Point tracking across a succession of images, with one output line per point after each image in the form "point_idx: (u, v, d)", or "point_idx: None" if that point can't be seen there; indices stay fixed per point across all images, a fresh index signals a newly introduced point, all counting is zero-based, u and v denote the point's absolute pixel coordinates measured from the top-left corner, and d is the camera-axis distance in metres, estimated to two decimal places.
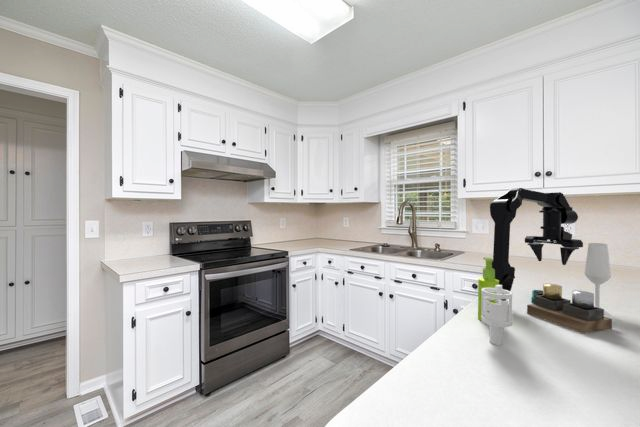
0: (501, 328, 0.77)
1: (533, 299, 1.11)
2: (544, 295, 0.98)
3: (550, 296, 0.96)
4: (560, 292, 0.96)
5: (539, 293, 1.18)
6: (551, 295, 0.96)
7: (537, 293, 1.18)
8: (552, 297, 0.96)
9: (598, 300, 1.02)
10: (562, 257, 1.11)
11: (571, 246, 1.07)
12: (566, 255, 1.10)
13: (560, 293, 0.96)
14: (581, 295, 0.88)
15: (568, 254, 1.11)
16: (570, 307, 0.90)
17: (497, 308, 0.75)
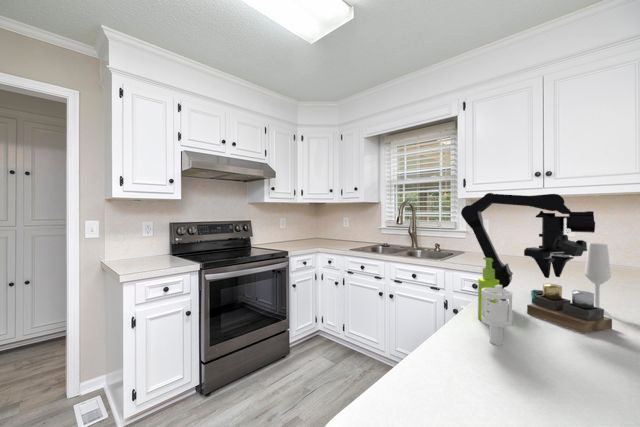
0: (501, 328, 0.77)
1: (533, 299, 1.11)
2: (544, 295, 0.98)
3: (550, 296, 0.96)
4: (560, 292, 0.96)
5: (538, 293, 1.18)
6: (551, 295, 0.96)
7: (536, 293, 1.18)
8: (552, 297, 0.96)
9: (598, 300, 1.02)
10: None
11: (524, 254, 0.98)
12: (542, 266, 0.98)
13: (560, 293, 0.96)
14: (581, 295, 0.88)
15: (545, 265, 0.97)
16: (570, 307, 0.90)
17: (497, 308, 0.75)
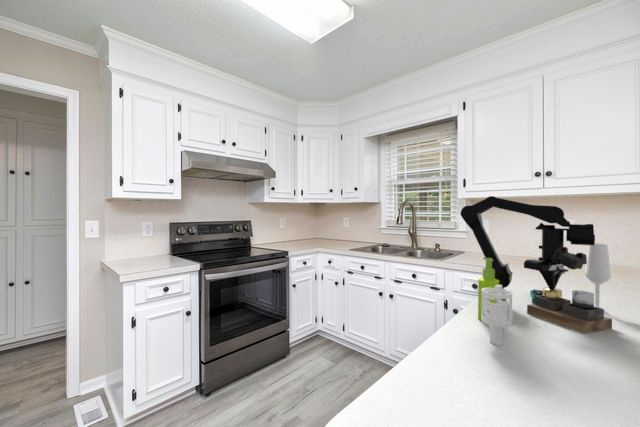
0: (501, 328, 0.77)
1: (534, 299, 1.11)
2: None
3: None
4: (560, 296, 0.96)
5: (538, 293, 1.18)
6: (551, 299, 0.96)
7: (536, 293, 1.18)
8: None
9: (598, 300, 1.02)
10: None
11: None
12: (547, 277, 0.98)
13: (560, 297, 0.96)
14: (581, 295, 0.88)
15: (550, 277, 0.97)
16: (570, 307, 0.90)
17: (497, 308, 0.75)
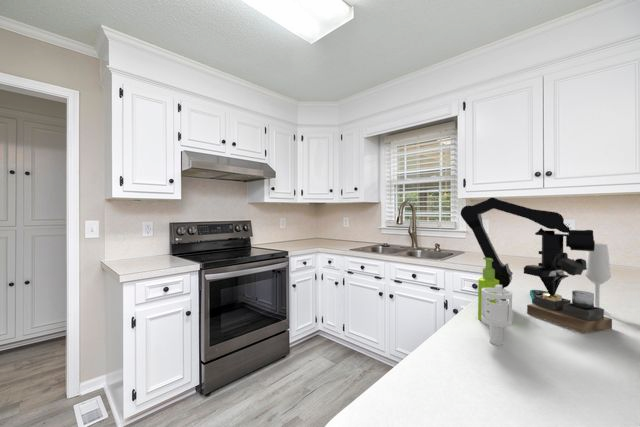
0: (501, 328, 0.77)
1: (534, 299, 1.11)
2: None
3: None
4: None
5: (538, 293, 1.18)
6: None
7: (536, 293, 1.18)
8: None
9: (598, 300, 1.02)
10: None
11: None
12: (547, 283, 0.98)
13: None
14: (581, 295, 0.88)
15: (550, 283, 0.97)
16: (570, 307, 0.90)
17: (497, 308, 0.75)
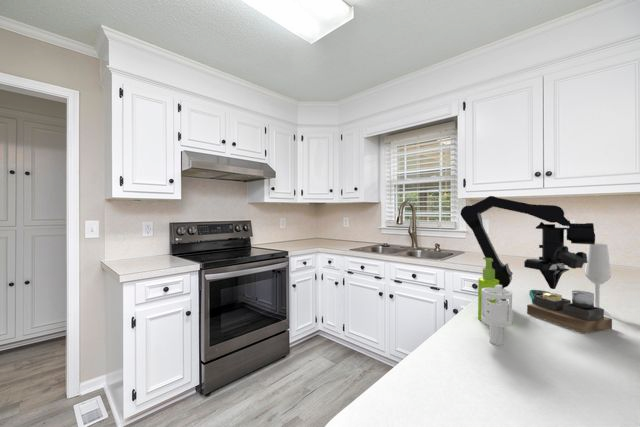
0: (501, 328, 0.77)
1: (534, 299, 1.11)
2: None
3: None
4: None
5: (537, 293, 1.18)
6: None
7: (535, 293, 1.18)
8: None
9: (598, 300, 1.02)
10: None
11: (524, 265, 0.98)
12: (547, 277, 0.98)
13: None
14: (581, 295, 0.88)
15: (551, 276, 0.97)
16: (570, 307, 0.90)
17: (497, 308, 0.75)
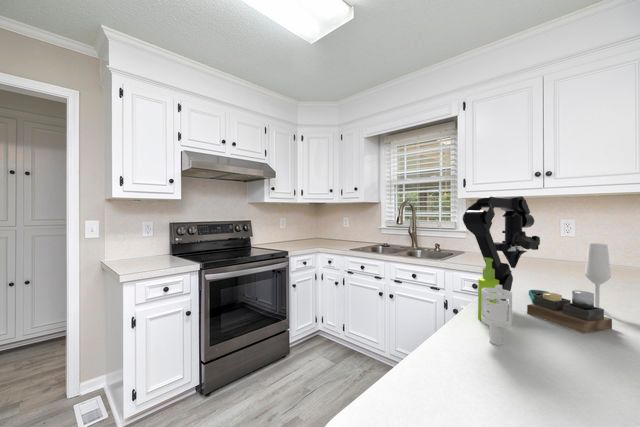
0: (501, 328, 0.77)
1: (534, 300, 1.11)
2: None
3: None
4: None
5: (537, 293, 1.18)
6: None
7: (535, 293, 1.18)
8: None
9: (598, 300, 1.02)
10: None
11: None
12: (509, 257, 1.15)
13: None
14: (581, 295, 0.88)
15: (511, 257, 1.14)
16: (570, 307, 0.90)
17: (497, 308, 0.75)
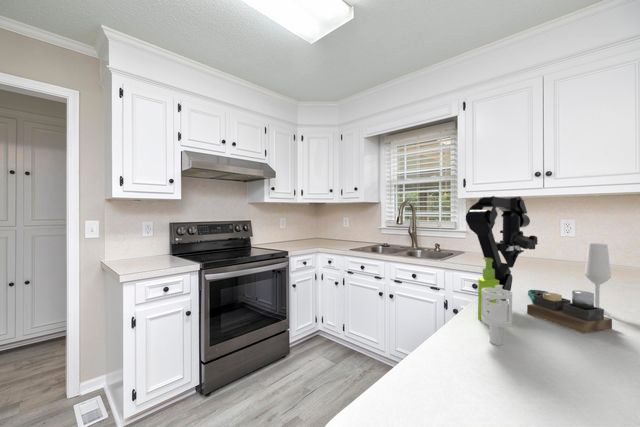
0: (501, 328, 0.77)
1: (534, 300, 1.11)
2: None
3: None
4: None
5: (536, 293, 1.18)
6: None
7: (535, 293, 1.18)
8: None
9: (598, 300, 1.02)
10: None
11: None
12: (506, 257, 1.16)
13: None
14: (581, 295, 0.88)
15: (509, 257, 1.15)
16: (570, 307, 0.90)
17: (497, 308, 0.75)
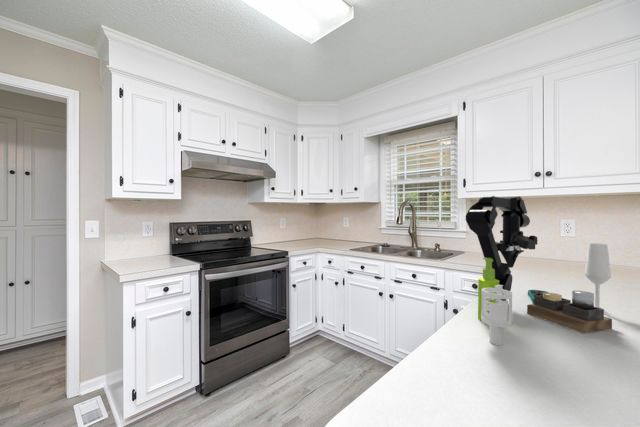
0: (501, 328, 0.77)
1: None
2: None
3: None
4: None
5: (536, 293, 1.18)
6: None
7: (534, 293, 1.18)
8: None
9: (598, 300, 1.02)
10: None
11: None
12: (506, 257, 1.16)
13: None
14: (581, 295, 0.88)
15: (509, 257, 1.15)
16: (570, 307, 0.90)
17: (497, 308, 0.75)
